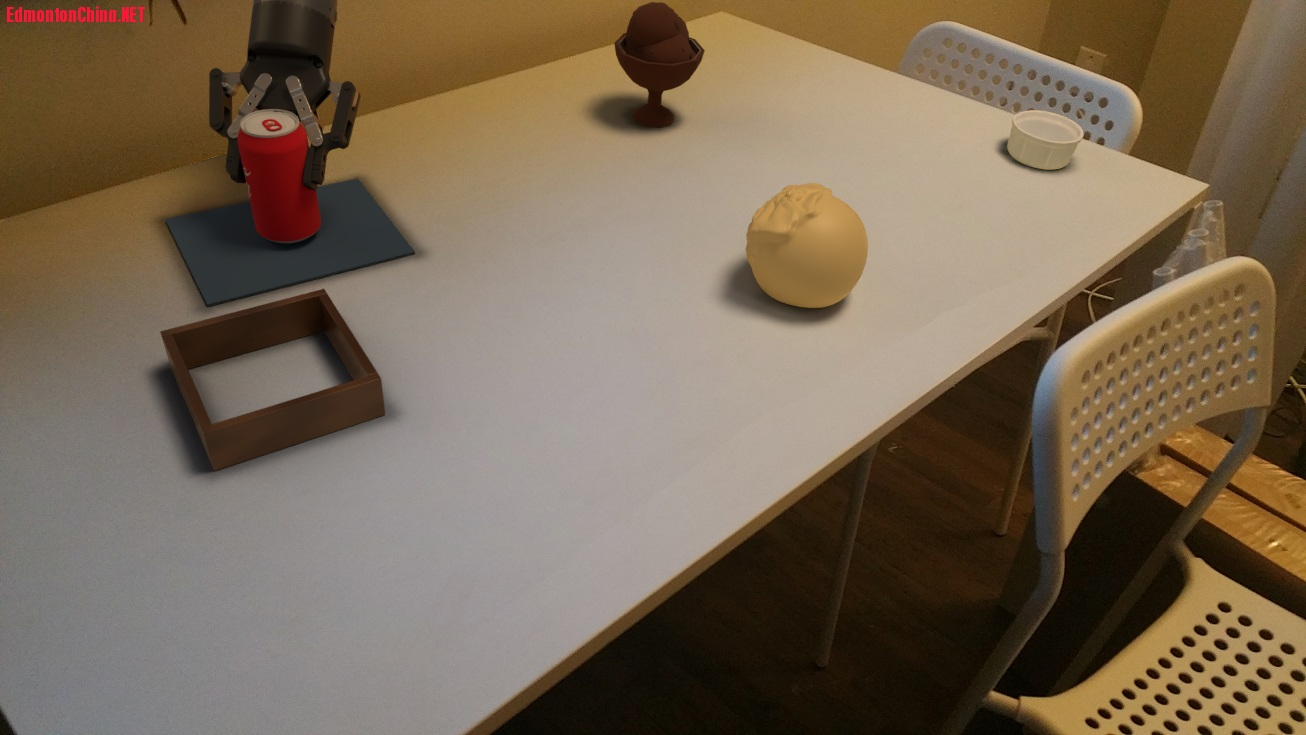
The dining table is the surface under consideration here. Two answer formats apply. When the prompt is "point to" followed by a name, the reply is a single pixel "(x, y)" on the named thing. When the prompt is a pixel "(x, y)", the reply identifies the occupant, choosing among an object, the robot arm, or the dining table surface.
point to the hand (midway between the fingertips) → (274, 184)
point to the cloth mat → (285, 245)
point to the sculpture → (806, 246)
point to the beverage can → (278, 176)
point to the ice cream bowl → (657, 58)
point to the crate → (287, 418)
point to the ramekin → (1043, 139)
